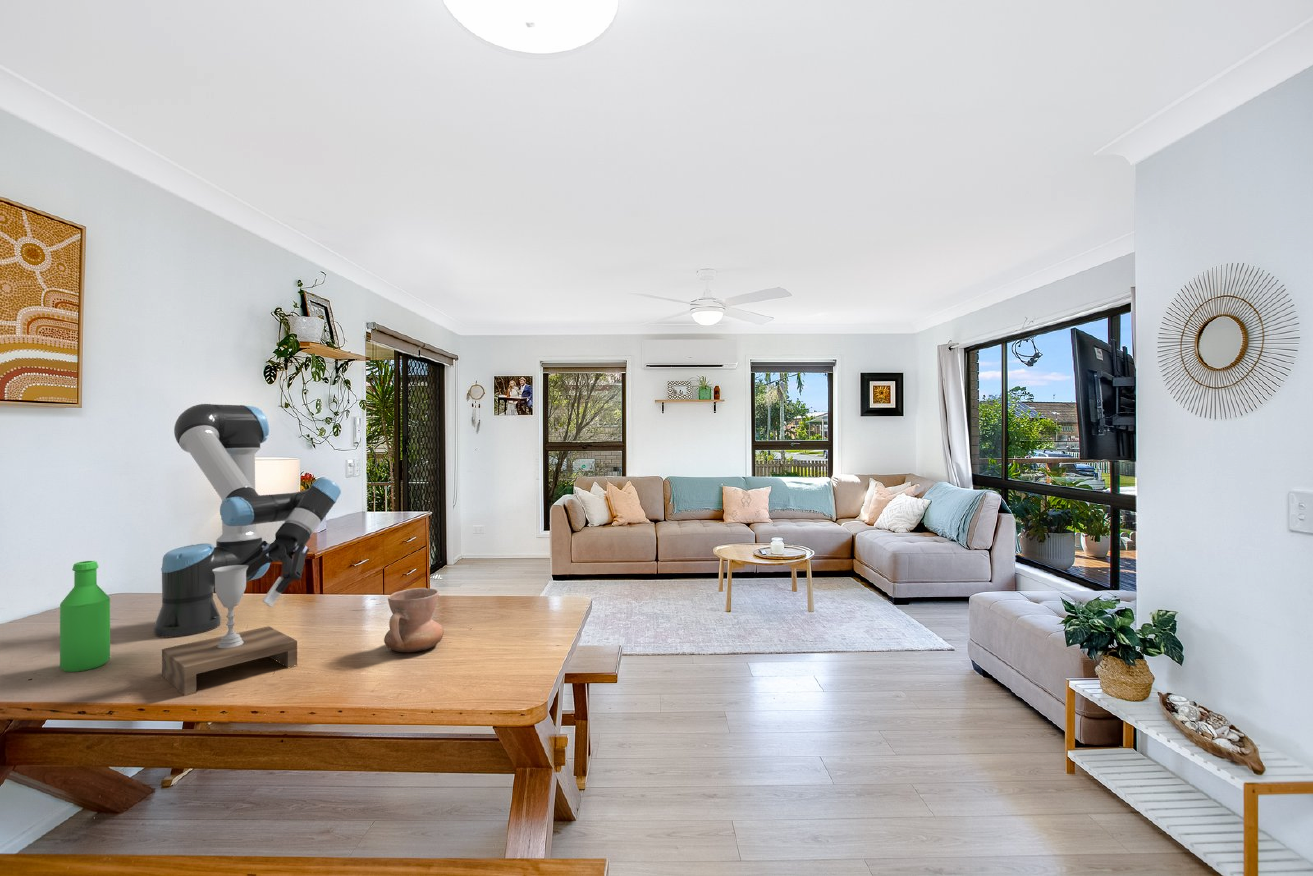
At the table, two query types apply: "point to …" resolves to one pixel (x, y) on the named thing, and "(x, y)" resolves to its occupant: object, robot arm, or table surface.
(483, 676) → the table surface
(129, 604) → the table surface
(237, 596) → the chalice
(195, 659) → the walnut shelf
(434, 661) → the table surface
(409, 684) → the table surface
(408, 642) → the ceramic jug
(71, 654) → the bottle
